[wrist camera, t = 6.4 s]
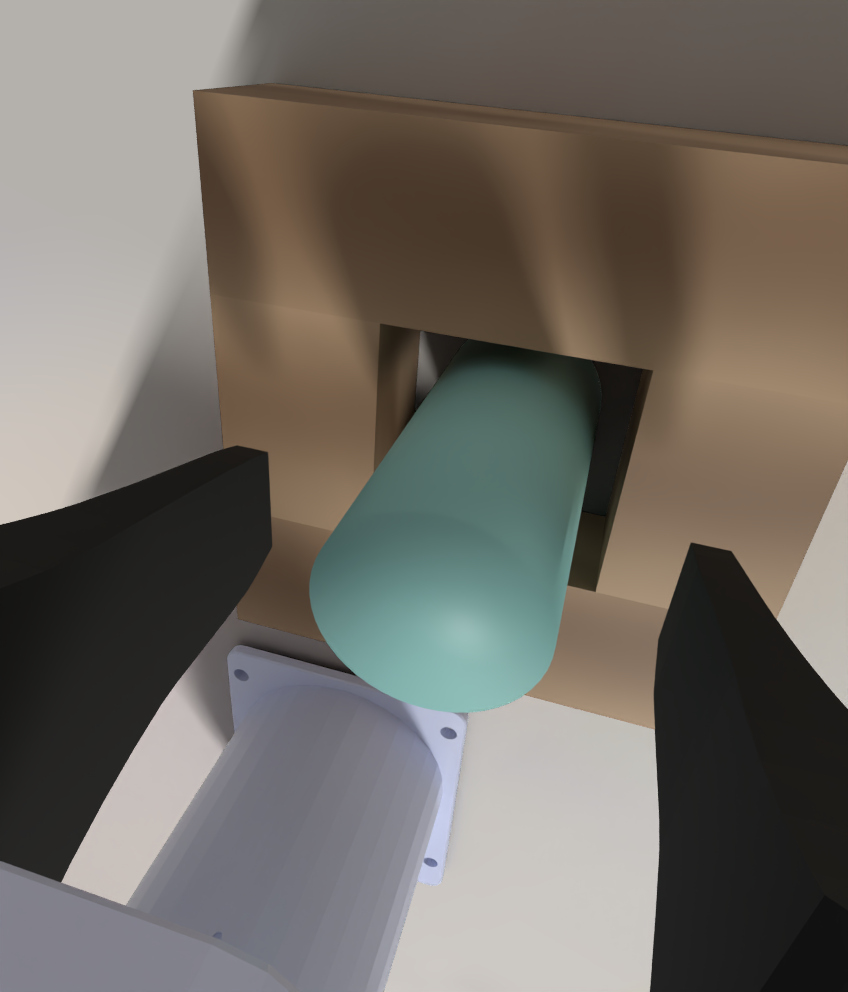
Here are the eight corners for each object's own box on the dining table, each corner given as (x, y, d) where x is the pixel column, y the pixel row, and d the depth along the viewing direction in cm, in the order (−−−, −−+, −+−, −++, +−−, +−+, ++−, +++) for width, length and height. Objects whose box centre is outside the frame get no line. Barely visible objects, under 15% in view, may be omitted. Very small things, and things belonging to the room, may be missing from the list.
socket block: (713, 656, 19) (719, 746, 17) (287, 553, 21) (237, 619, 19) (914, 152, 13) (973, 179, 10) (271, 83, 15) (192, 90, 12)
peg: (576, 482, 18) (522, 742, 11) (434, 443, 18) (302, 667, 12) (621, 343, 16) (588, 557, 9) (460, 302, 16) (317, 478, 10)
